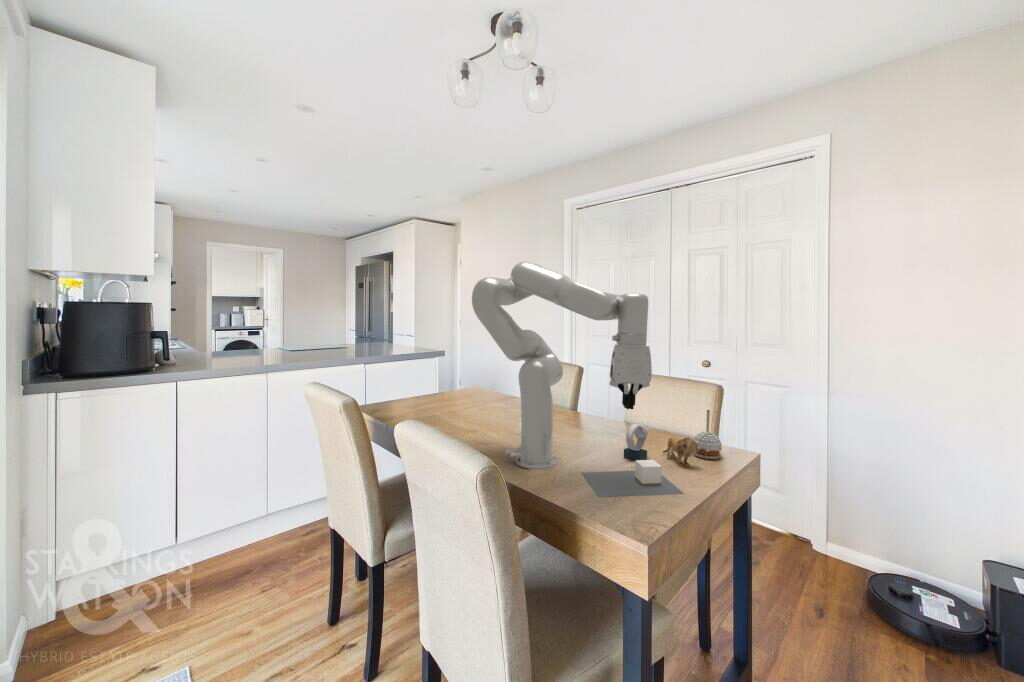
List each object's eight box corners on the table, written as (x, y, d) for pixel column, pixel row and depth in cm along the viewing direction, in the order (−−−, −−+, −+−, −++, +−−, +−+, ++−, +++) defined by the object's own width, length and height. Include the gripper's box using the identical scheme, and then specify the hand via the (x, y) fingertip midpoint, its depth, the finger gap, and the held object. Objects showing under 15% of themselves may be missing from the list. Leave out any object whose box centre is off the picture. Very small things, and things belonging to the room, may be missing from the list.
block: (661, 466, 108) (661, 485, 108) (653, 459, 113) (652, 477, 113) (643, 467, 108) (642, 485, 108) (635, 460, 112) (634, 478, 113)
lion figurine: (702, 469, 121) (703, 438, 121) (686, 470, 120) (687, 440, 119) (669, 453, 135) (670, 425, 135) (655, 454, 134) (656, 426, 133)
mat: (598, 498, 101) (598, 497, 101) (580, 473, 117) (580, 472, 117) (684, 495, 103) (684, 493, 103) (655, 471, 119) (655, 469, 119)
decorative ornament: (710, 452, 137) (712, 406, 136) (725, 460, 129) (727, 412, 128) (688, 452, 136) (690, 407, 135) (702, 461, 128) (703, 413, 127)
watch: (650, 458, 130) (650, 424, 129) (636, 465, 124) (637, 428, 123) (633, 454, 134) (634, 420, 133) (620, 460, 128) (621, 425, 127)
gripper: (608, 340, 107) (605, 411, 108) (665, 342, 108) (661, 411, 109) (600, 338, 114) (597, 404, 115) (652, 339, 115) (649, 405, 117)
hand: (628, 407), depth 112 cm, fingers closed
